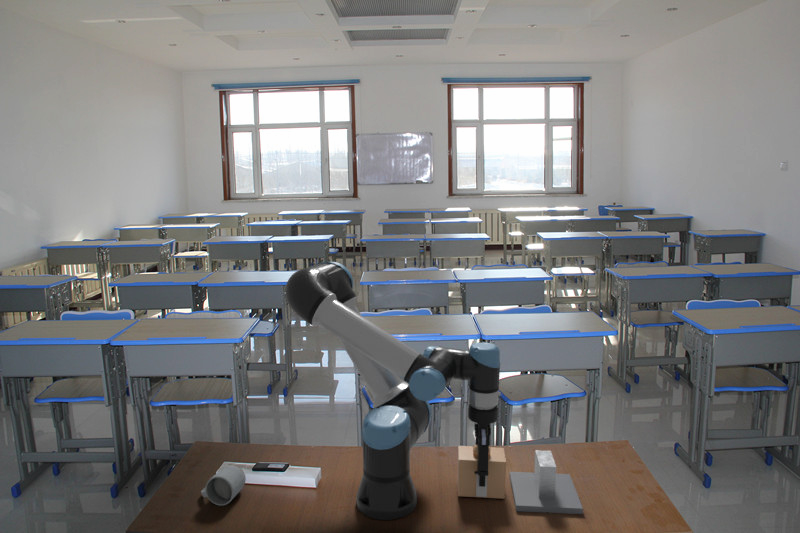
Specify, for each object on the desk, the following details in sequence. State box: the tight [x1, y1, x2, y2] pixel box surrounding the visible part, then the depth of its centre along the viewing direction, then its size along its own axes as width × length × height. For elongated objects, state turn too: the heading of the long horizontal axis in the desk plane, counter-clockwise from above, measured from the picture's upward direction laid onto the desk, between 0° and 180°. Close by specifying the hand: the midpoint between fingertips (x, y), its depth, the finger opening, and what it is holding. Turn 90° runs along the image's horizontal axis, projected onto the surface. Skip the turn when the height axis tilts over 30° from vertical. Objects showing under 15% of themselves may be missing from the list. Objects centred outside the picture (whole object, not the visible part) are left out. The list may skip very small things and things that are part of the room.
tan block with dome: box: [457, 444, 507, 499], centre depth 149 cm, size 12×7×12 cm, turn 85°
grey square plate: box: [508, 449, 584, 515], centre depth 148 cm, size 16×16×10 cm
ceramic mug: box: [200, 464, 247, 507], centre depth 148 cm, size 11×8×8 cm
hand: (480, 487), depth 150 cm, fingers closed on tan block with dome, 7 cm apart
